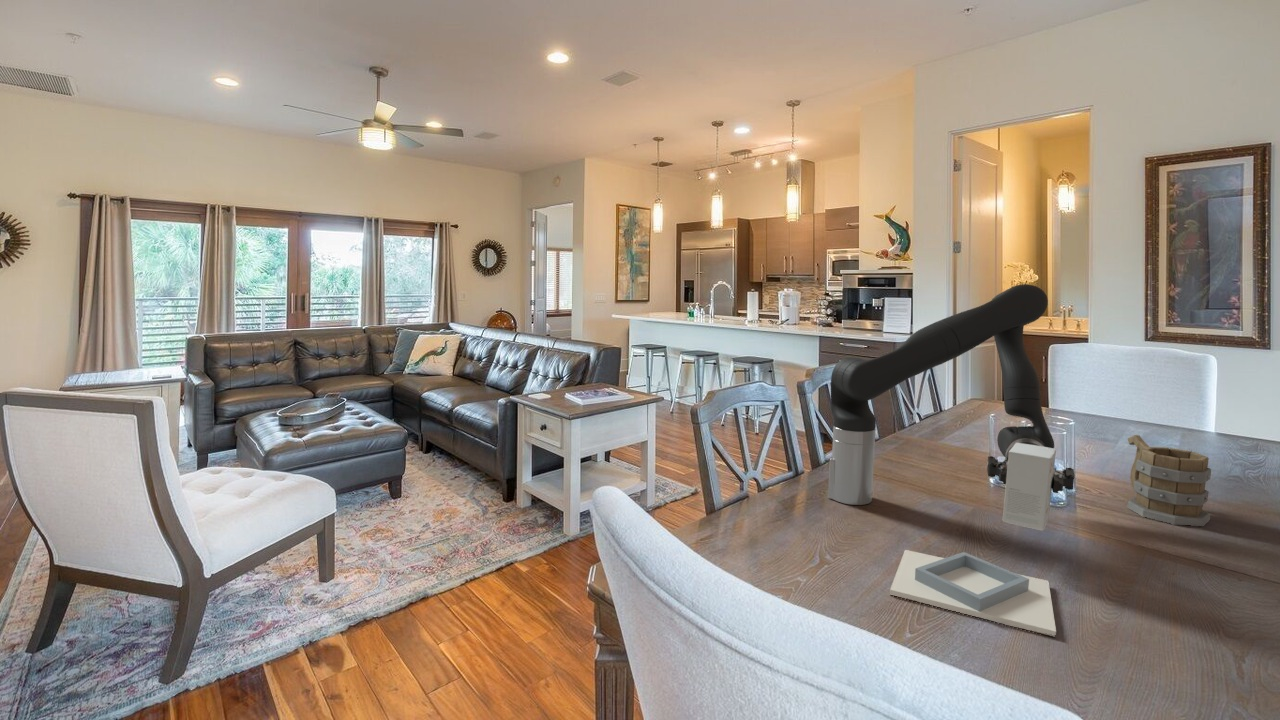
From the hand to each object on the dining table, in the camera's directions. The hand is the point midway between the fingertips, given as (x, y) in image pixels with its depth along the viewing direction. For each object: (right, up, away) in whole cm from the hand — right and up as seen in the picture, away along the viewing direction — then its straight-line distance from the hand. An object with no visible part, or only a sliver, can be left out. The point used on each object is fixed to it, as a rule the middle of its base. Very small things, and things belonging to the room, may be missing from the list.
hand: (1030, 483), depth 103 cm
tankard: (+47, -12, +29) cm, 57 cm away
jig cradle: (-15, -16, -7) cm, 23 cm away
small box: (0, -7, +2) cm, 7 cm away
